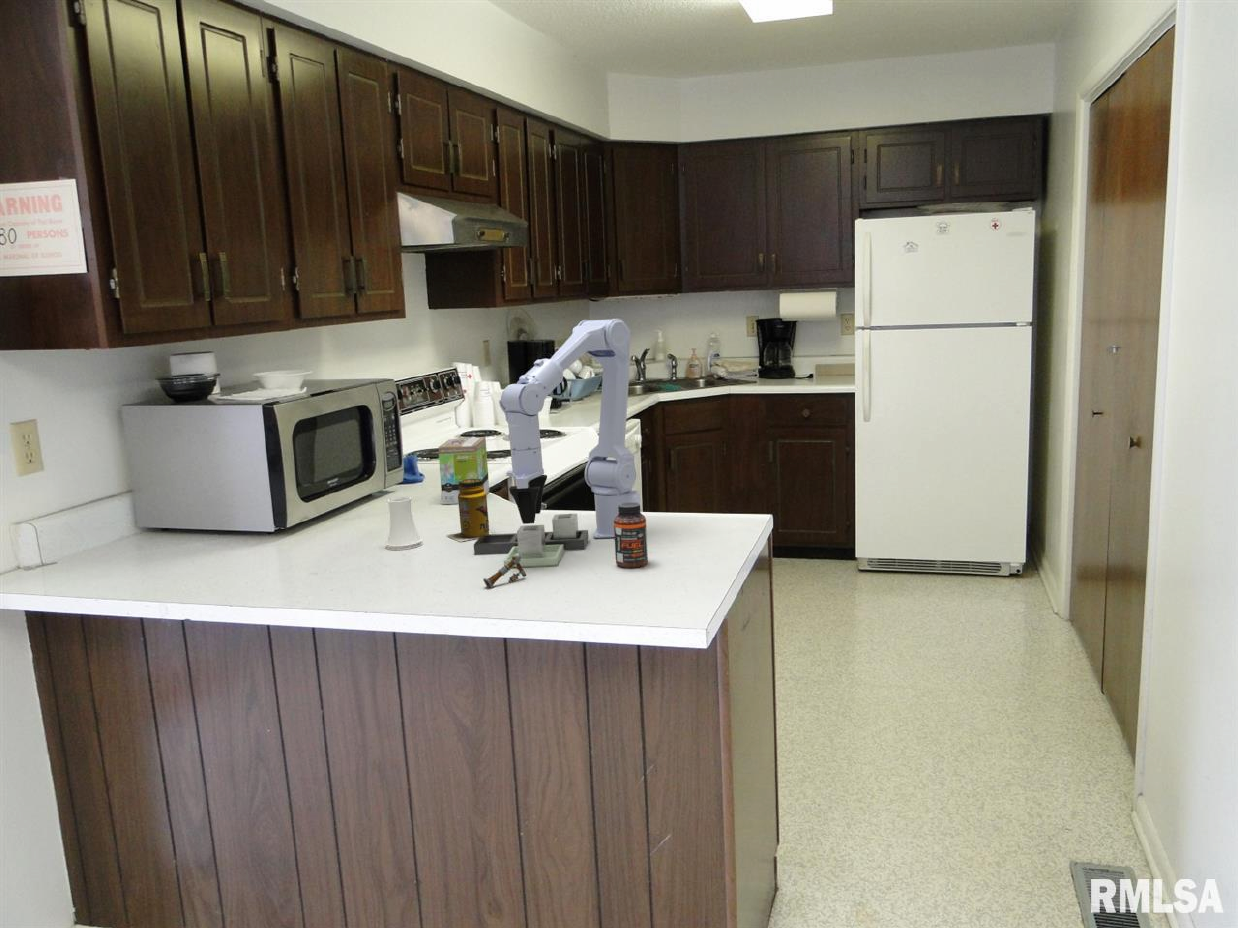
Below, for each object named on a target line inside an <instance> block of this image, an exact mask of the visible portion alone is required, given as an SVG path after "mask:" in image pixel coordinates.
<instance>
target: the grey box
mask: <svg viewBox="0 0 1238 928" xmlns="http://www.w3.org/2000/svg"><path fill="white" fill-rule="evenodd" d="M545 532H546V531H545V524H531V525H520V526H519V528H518V529H517V531H516V533H517V539H518V551H519V555H521V559H536V558H545V557H546V542H545Z"/></svg>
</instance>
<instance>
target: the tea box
mask: <svg viewBox="0 0 1238 928" xmlns="http://www.w3.org/2000/svg"><path fill="white" fill-rule="evenodd" d="M487 455H488V453H487V441H486V437H484V436H483V437H464V438H451V439H450V438H449V439H447V440H446V441H445V442H444V443H442V444H441V445H440V446H438V460H439V473H440V486H441V487H440V488H441V500H442V505H459V503H458V495H459V493H460V491H459V485H458V484H459V482H460V481H462V480H466V479H482V480H483V482H484V483H483V485H484V491H485V492H486V495H487V494H488V493H489V492H490V483H489V482H490V481H489V467H488V466H489V465H488V456H487Z"/></svg>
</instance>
